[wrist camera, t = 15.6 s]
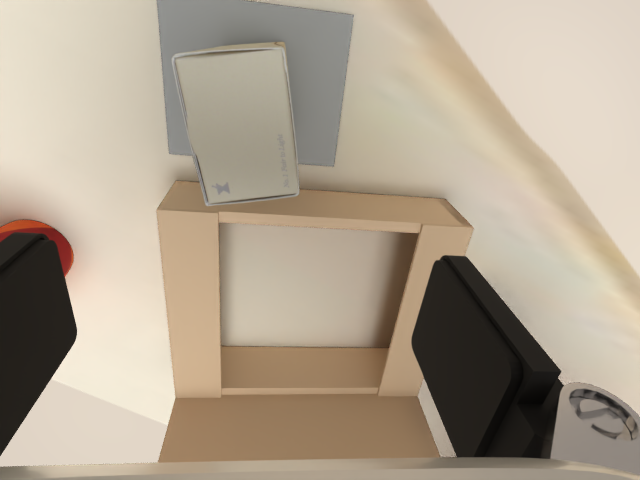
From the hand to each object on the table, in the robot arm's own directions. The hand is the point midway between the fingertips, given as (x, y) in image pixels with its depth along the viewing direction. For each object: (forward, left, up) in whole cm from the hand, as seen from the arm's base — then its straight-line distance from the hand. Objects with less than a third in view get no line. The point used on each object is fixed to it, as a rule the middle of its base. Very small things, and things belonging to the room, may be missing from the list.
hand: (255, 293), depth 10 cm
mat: (+1, -2, -20) cm, 20 cm away
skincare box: (+1, -2, -20) cm, 20 cm away
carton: (-4, +14, -20) cm, 25 cm away
